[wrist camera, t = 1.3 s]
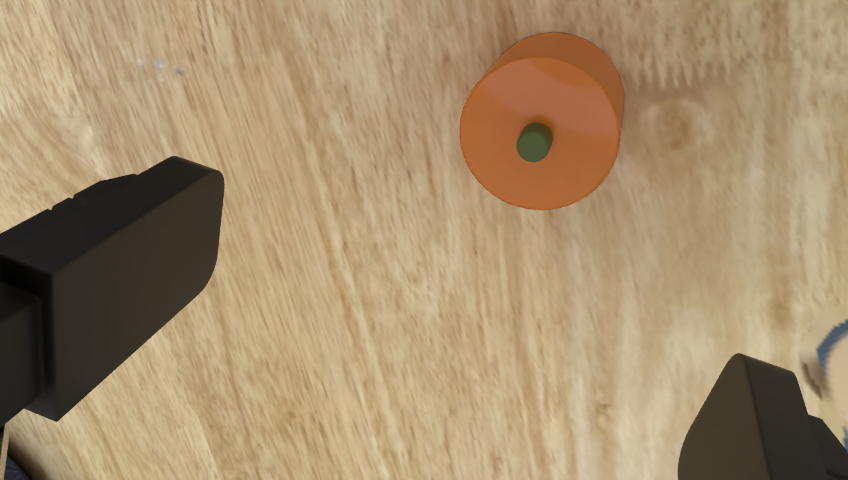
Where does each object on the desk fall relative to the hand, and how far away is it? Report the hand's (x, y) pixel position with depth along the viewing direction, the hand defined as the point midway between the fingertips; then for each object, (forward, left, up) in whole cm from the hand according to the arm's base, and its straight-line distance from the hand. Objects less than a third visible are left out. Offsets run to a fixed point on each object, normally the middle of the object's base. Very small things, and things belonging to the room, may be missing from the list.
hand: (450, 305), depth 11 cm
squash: (0, 0, -11) cm, 11 cm away
